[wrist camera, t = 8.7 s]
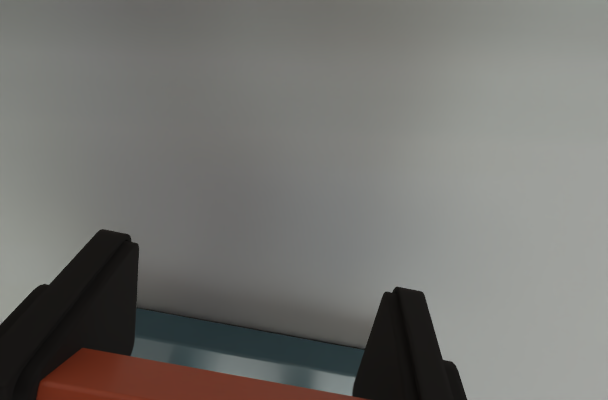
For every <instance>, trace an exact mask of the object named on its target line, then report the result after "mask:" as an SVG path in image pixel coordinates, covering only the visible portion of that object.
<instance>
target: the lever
mask: <svg viewBox="0 0 608 400" xmlns="http://www.w3.org/2000/svg"><path fill="white" fill-rule="evenodd" d="M36 400H370V399H364V398H359V397H353V396H348V395H342V394H336V393H331V392H325V391H320V390H314V389H309V388H303V387H298V386H292V385H287V384H281V383H276V382H270V381H265V380H259V379H253V378H248V377H242V376H237V375H231V374H226V373H220V372H215V371H209V370H204V369H198V368H193V367H187V366H182V365H176V364H170V363H165V362H159V361H154V360H148V359H143V358H137V357H132V356H126V355H121V354H115V353H110V352H104V351H98V350H93V349H87V348H81V349H80V350H79V351H78V352H76V353H75V354H74V355H72V356H71V357H70V358H69V359H67V360H66V361H65V362H64V363H62V364H61V365H60V366H58V367H57V368H56V369H55V370H53V371H52V372H51V373H50V374H48V375H47V376H46V377H44V378H43V379H42V380H41V381H40V383H39V386H38V391H37V397H36Z"/></svg>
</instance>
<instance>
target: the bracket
mask: <svg viewBox="0 0 608 400" xmlns="http://www.w3.org/2000/svg"><path fill="white" fill-rule="evenodd" d="M364 351H365V350H362V349H357V348H351V347H346V346H340V345H335V344H329V343H324V342H319V341H313V340H308V339H302V338H297V337H291V336H286V335H281V334H275V333H270V332H264V331H259V330H254V329H248V328H243V327H237V326H232V325H226V324H221V323H216V322H210V321H205V320H199V319H194V318H188V317H183V316H178V315H172V314H167V313H161V312H156V311H150V310H145V309H140V308H136V323H135V342H134V347H133V351H132V354H131V356H132V357H137V358H143V359H148V360H154V361H159V362H165V363H170V364H176V365H182V366H187V367H193V368H198V369H204V370H209V371H215V372H220V373H226V374H231V375H237V376H242V377H248V378H253V379H259V380H265V381H270V382H276V383H281V384H287V385H292V386H298V387H303V388H309V389H314V390H320V391H325V392H331V393H336V394H342V395H348V396H352V392H353V385H354V381H355V378H356V375H357V372H358V369H359V366H360V363H361V360H362V357H363V354H364Z"/></svg>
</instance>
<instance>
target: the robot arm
mask: <svg viewBox="0 0 608 400" xmlns="http://www.w3.org/2000/svg"><path fill="white" fill-rule="evenodd" d="M138 258H139V246H138V244H137V243H134V242H131V237H130V235H129V234H124V233H119V232H114V231H109V230H100V231H98V232H97V233H96V234H95V235H94V237H93V238H92V239H91V240H90V241H89V242H88V243H87V244H86V245H85V246H84V247H83V249H82V250H81V251H80V252H79V253H78V254H77V255H76V256H75V257H74V258H73V259H72V261H71V262H70V263H69V264H68V265H67V266H66V267H65V268H64V269H63V270H62V272H61V273H60V274H59V275H58V276H57V277H56V278H55V279H54V280H53V281H52V282H51V284H50V285H46V284H43V285H40V286H38V287H37V288H36V289H34V290H33V291H32V292H31V293H30V294H29V295H28V296H27V297H26V298H25V299H24V301H23V302H22V303H21V304H20V305H19V306H18V307H17V308H16V309H15V310H14V311H13V312H12V313H11V314H10V315H9V316H8V317H7V318H6V319H5V320H4V322H3V323H2V324H1V325H0V400H36V397H37V391H38V386H39V383H40V381H41V380H42V379H43V378H44V377H46V376H47V375H48V374H50V373H51V372H52V371H53V370H55V369H56V368H57V367H58V366H60V365H61V364H62V363H64V362H65V361H66V360H67V359H69V358H70V357H71V356H72V355H74V354H75V353H76V352H78V351H79V350H80V349H81V348H87V349H93V350H98V351H104V352H110V353H115V354H121V355H126V356H131V354H132V351H133V347H134V342H135V323H136V302H137V280H138ZM352 396H353V397H359V398H364V399H370V400H467V398H466V395H465V392H464V388H463V385H462V382H461V379H460V376H459V372H458V370H457V368H456V365H455V364H454V363H453V362H450V361H445V360H443V359H442V356H441V352H440V349H439V345H438V341H437V338H436V334H435V331H434V327H433V324H432V320H431V317H430V313H429V310H428V306H427V303H426V299H425V296H424V293H423V292H421V291H416V290H411V289H406V288H401V287H395V289H394V290H393V292H392V293H391V292H385V293H384V294H383V297H382V300H381V303H380V306H379V309H378V312H377V315H376V318H375V321H374V324H373V327H372V330H371V333H370V336H369V339H368V342H367V345H366V348H365V351H364V354H363V357H362V360H361V363H360V366H359V369H358V372H357V375H356V378H355V381H354V385H353V392H352Z"/></svg>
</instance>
